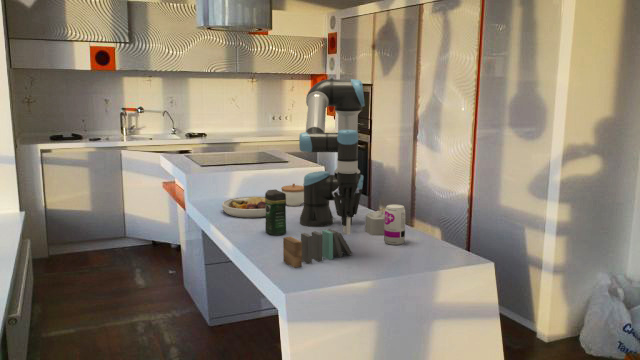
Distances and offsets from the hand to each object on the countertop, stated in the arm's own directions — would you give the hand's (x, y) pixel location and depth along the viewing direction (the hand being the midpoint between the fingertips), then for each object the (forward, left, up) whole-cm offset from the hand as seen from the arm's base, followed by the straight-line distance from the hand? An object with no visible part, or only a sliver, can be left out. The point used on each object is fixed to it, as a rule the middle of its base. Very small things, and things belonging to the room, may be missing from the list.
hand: (346, 233), depth 229 cm
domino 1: (+18, 0, -8) cm, 19 cm away
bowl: (0, -82, -9) cm, 82 cm away
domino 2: (+13, 0, -8) cm, 15 cm away
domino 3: (+9, 0, -8) cm, 12 cm away
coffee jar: (+9, -41, -8) cm, 43 cm away
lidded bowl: (-25, -86, -8) cm, 90 cm away
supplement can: (-25, -3, -8) cm, 27 cm away
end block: (+23, 0, -8) cm, 25 cm away
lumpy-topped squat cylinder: (-31, -19, -8) cm, 38 cm away
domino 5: (0, 0, -8) cm, 8 cm away
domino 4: (+4, 0, -8) cm, 9 cm away
